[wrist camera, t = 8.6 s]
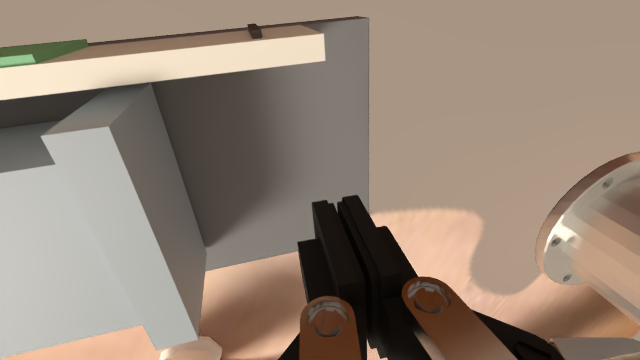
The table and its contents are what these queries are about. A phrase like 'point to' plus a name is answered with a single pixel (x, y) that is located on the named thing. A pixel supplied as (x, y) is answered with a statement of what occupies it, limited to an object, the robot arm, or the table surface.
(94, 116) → the grey block
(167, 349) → the cup
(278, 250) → the frame
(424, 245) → the table surface
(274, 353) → the table surface
